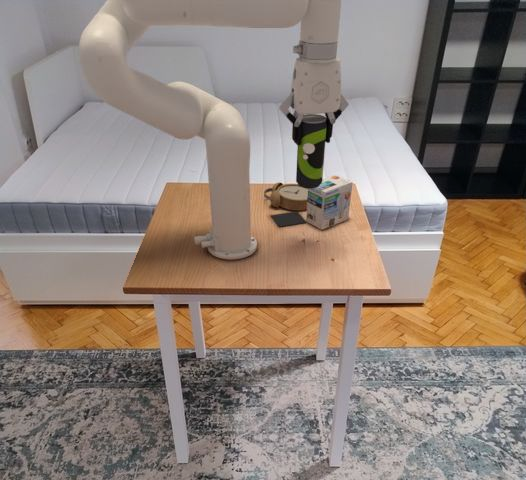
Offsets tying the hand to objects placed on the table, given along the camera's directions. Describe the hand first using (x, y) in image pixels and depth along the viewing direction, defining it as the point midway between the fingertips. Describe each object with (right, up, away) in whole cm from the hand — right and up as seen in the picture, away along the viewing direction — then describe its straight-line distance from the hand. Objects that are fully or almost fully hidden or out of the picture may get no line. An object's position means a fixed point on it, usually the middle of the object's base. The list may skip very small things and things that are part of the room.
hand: (311, 141), depth 113 cm
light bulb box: (+7, -11, +26) cm, 29 cm away
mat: (-4, -11, +26) cm, 29 cm away
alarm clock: (-3, -4, +34) cm, 35 cm away
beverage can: (0, -8, +7) cm, 10 cm away
